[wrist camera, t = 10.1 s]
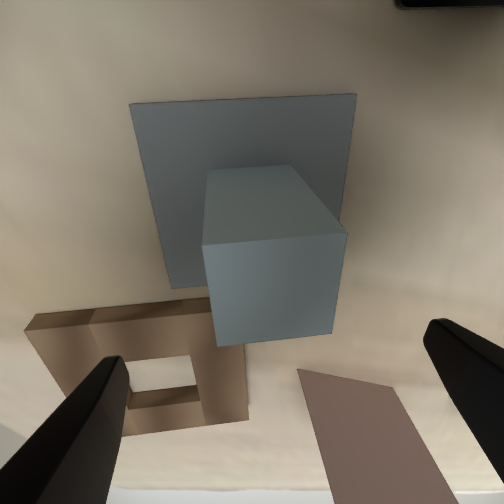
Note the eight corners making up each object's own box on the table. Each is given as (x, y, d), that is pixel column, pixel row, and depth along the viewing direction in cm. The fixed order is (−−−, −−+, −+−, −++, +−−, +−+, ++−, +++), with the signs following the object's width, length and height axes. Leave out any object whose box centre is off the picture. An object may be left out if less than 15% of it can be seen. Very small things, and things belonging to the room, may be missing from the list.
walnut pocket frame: (239, 294, 21) (240, 309, 19) (247, 404, 28) (249, 420, 27) (35, 314, 20) (23, 331, 18) (99, 423, 27) (94, 440, 26)
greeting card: (288, 372, 26) (357, 651, 14) (363, 337, 25) (518, 611, 12) (334, 422, 32) (413, 651, 19) (398, 396, 31) (528, 625, 18)
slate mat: (352, 93, 15) (356, 94, 14) (329, 269, 20) (331, 273, 20) (131, 103, 14) (128, 104, 13) (172, 284, 20) (171, 288, 19)
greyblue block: (290, 164, 16) (347, 232, 9) (287, 236, 18) (331, 333, 11) (207, 170, 15) (201, 245, 9) (216, 242, 18) (217, 346, 11)
